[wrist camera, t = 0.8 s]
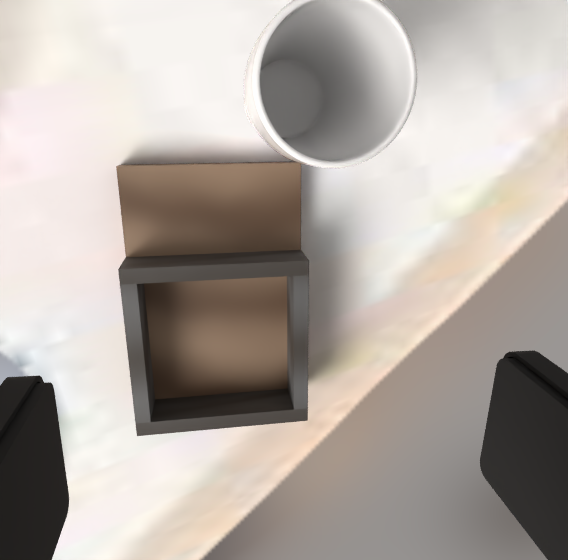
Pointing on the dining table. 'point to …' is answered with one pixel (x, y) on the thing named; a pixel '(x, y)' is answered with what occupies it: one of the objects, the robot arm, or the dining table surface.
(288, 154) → the white cup
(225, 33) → the dining table surface
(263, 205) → the open box
